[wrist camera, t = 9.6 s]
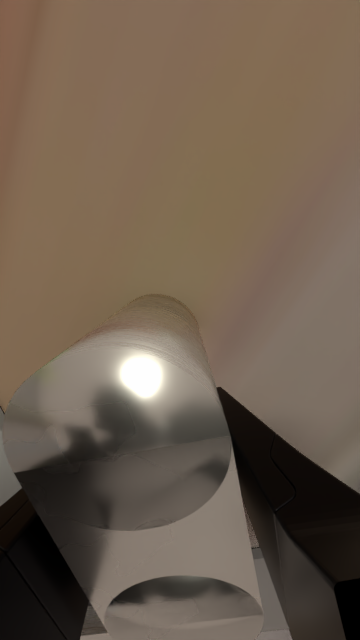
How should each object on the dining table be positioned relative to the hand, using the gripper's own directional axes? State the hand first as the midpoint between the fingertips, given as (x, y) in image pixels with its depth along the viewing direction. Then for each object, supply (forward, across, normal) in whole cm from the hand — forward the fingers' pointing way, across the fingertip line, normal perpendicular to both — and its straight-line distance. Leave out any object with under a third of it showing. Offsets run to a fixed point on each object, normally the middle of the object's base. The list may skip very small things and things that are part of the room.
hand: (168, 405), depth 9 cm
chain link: (+1, 0, 0) cm, 1 cm away
